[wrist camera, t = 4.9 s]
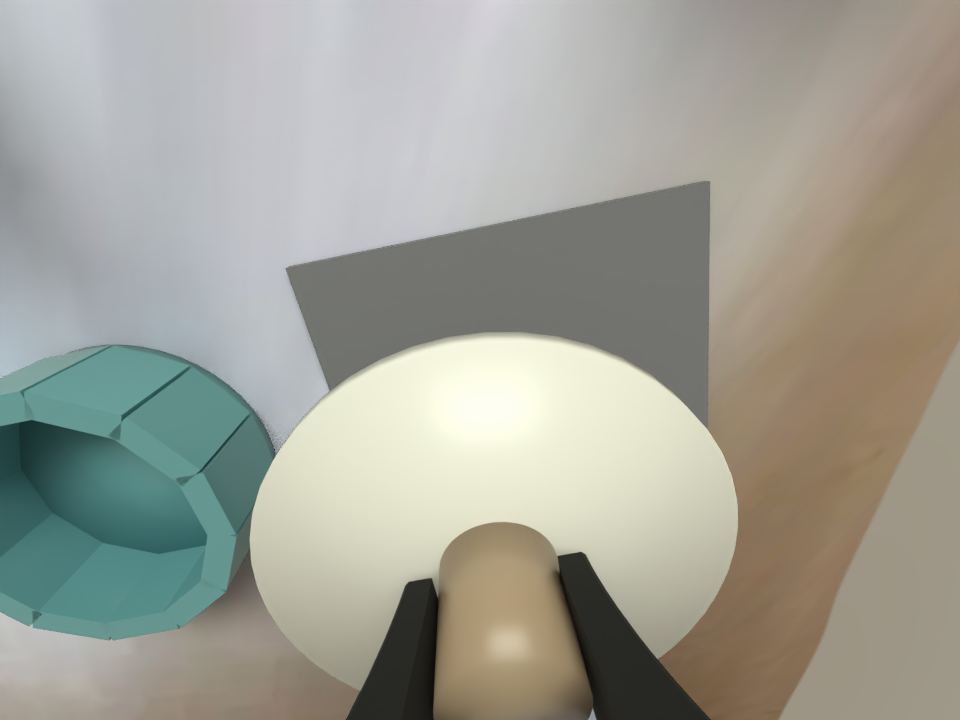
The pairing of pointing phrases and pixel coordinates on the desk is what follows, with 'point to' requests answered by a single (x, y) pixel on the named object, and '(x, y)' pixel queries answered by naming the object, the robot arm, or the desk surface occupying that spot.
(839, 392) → the desk surface
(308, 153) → the desk surface
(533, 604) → the lid
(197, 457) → the bowl
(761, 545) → the desk surface
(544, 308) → the mat
